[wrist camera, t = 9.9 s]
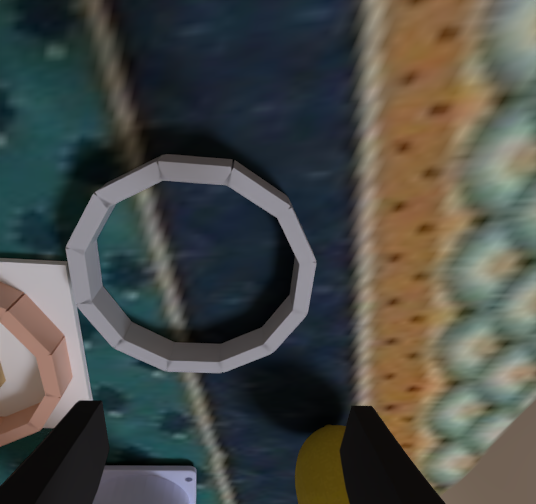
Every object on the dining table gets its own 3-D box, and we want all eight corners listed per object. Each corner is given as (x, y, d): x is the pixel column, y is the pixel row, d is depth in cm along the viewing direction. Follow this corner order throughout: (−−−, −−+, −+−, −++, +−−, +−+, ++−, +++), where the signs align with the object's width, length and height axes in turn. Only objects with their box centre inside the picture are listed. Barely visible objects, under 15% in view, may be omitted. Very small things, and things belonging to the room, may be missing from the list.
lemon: (343, 458, 27) (379, 600, 19) (275, 442, 25) (287, 587, 18) (382, 409, 24) (440, 548, 17) (311, 389, 23) (340, 529, 16)
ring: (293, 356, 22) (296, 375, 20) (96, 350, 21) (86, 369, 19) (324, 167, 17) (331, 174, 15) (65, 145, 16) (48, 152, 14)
